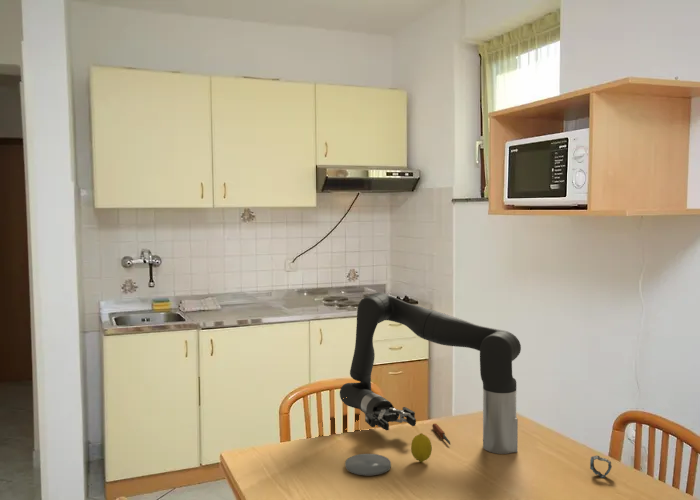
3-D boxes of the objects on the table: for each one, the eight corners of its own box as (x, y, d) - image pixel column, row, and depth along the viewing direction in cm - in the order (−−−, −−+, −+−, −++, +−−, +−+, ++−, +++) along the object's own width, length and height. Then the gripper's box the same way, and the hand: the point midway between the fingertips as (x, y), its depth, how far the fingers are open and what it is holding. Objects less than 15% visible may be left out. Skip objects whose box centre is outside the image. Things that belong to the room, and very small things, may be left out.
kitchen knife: (432, 429, 194) (432, 422, 194) (436, 428, 194) (436, 422, 194) (448, 447, 178) (448, 441, 178) (452, 447, 179) (452, 440, 178)
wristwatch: (591, 472, 160) (591, 453, 160) (612, 477, 157) (612, 458, 157) (587, 476, 158) (588, 457, 157) (609, 481, 155) (609, 462, 154)
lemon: (431, 467, 165) (430, 437, 164) (410, 465, 166) (409, 436, 165) (432, 459, 170) (432, 430, 170) (412, 457, 171) (412, 429, 171)
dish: (392, 459, 170) (391, 454, 170) (389, 478, 158) (389, 472, 158) (348, 458, 171) (348, 452, 171) (342, 476, 160) (342, 471, 159)
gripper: (355, 399, 190) (378, 415, 175) (397, 393, 195) (423, 408, 180) (355, 423, 190) (378, 441, 175) (397, 416, 196) (423, 434, 181)
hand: (401, 424), depth 178 cm, fingers open, 8 cm apart
